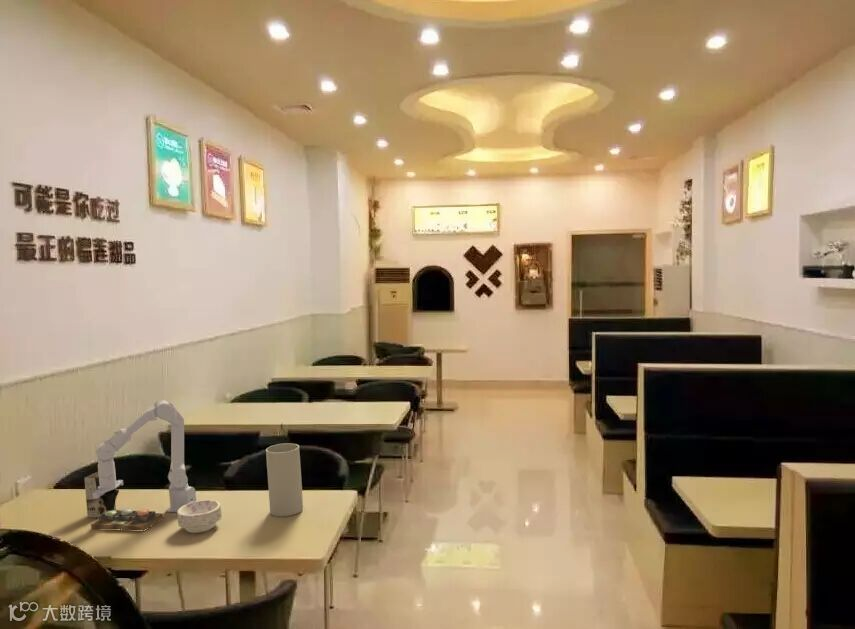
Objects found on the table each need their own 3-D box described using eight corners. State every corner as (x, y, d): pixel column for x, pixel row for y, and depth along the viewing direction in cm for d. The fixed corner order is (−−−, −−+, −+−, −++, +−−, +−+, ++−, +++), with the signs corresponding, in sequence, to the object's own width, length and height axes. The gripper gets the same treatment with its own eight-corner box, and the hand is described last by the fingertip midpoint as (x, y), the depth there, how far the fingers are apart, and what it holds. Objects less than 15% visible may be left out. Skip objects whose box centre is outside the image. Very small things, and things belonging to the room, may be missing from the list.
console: (163, 518, 250) (162, 508, 249) (143, 531, 238) (142, 520, 238) (112, 516, 254) (111, 506, 254) (91, 529, 242) (90, 518, 242)
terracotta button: (151, 513, 246) (151, 509, 246) (144, 517, 242) (144, 513, 242) (142, 513, 247) (141, 508, 247) (135, 517, 243) (135, 512, 243)
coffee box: (101, 518, 253) (97, 477, 252) (86, 517, 255) (83, 477, 253) (116, 509, 262) (113, 470, 261) (102, 508, 263) (99, 469, 262)
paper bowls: (181, 540, 229) (179, 518, 228) (176, 525, 242) (174, 505, 242) (225, 530, 236) (224, 509, 235) (218, 516, 249) (217, 496, 248)
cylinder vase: (280, 520, 243) (275, 454, 241) (264, 511, 252) (260, 448, 250) (309, 510, 251) (305, 447, 249) (292, 502, 260) (288, 441, 258)
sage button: (118, 514, 249) (118, 510, 249) (112, 518, 245) (111, 514, 245) (109, 514, 250) (109, 510, 249) (102, 518, 246) (102, 514, 245)
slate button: (135, 512, 247) (134, 508, 247) (128, 516, 243) (127, 512, 243) (125, 512, 248) (125, 508, 248) (118, 516, 244) (118, 512, 244)
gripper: (110, 468, 254) (113, 502, 255) (84, 481, 240) (87, 517, 241) (126, 469, 252) (129, 502, 253) (101, 481, 238) (104, 517, 239)
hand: (110, 509), depth 247 cm, fingers closed
